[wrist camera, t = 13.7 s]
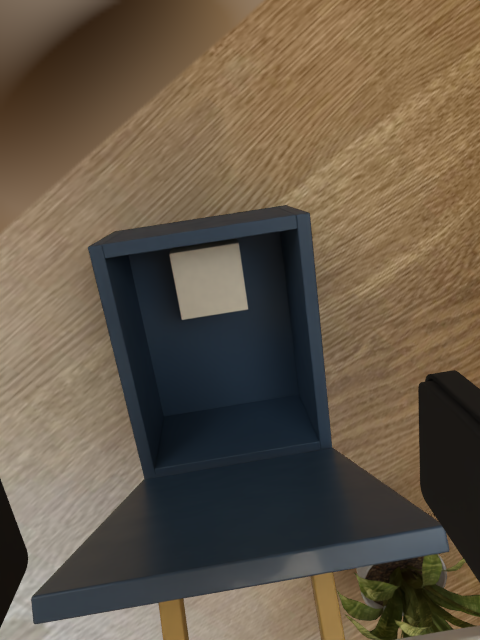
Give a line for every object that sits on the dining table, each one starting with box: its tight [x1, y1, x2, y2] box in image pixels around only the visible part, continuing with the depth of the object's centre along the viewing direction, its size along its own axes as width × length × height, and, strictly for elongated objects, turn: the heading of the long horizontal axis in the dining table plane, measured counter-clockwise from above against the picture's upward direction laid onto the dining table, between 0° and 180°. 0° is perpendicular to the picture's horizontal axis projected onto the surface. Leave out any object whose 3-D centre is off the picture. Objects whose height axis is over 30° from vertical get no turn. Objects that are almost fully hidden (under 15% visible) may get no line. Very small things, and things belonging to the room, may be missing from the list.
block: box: [169, 238, 248, 320], centre depth 31 cm, size 4×4×4 cm
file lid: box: [31, 448, 449, 640], centre depth 21 cm, size 16×13×5 cm
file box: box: [88, 205, 332, 479], centre depth 32 cm, size 16×13×8 cm
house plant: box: [336, 554, 480, 640], centre depth 34 cm, size 14×14×16 cm
